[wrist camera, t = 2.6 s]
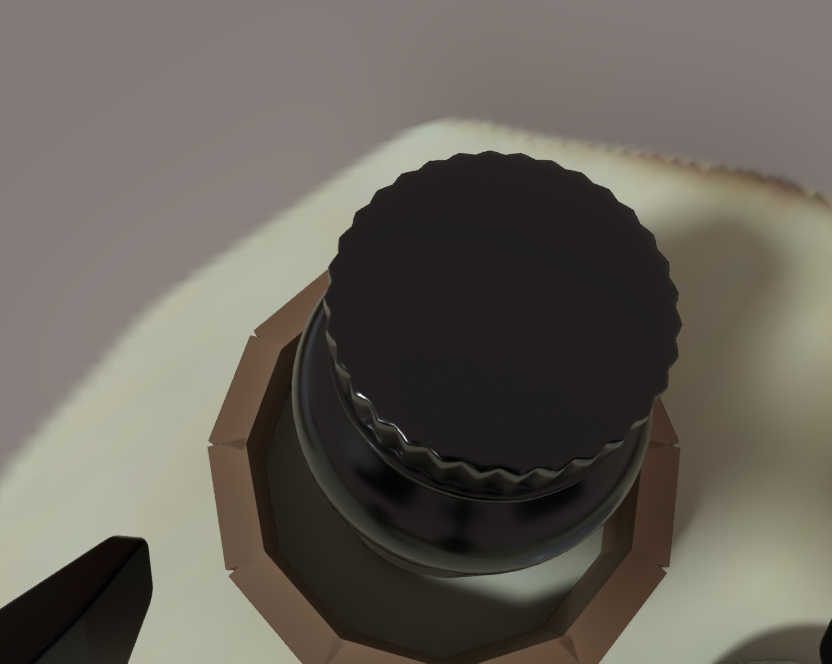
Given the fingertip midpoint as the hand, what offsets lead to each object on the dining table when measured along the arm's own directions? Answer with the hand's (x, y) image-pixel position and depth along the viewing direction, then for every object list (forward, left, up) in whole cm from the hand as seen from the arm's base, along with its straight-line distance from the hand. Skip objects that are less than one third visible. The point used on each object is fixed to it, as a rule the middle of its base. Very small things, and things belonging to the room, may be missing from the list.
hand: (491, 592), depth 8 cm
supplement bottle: (+2, -3, -11) cm, 11 cm away
